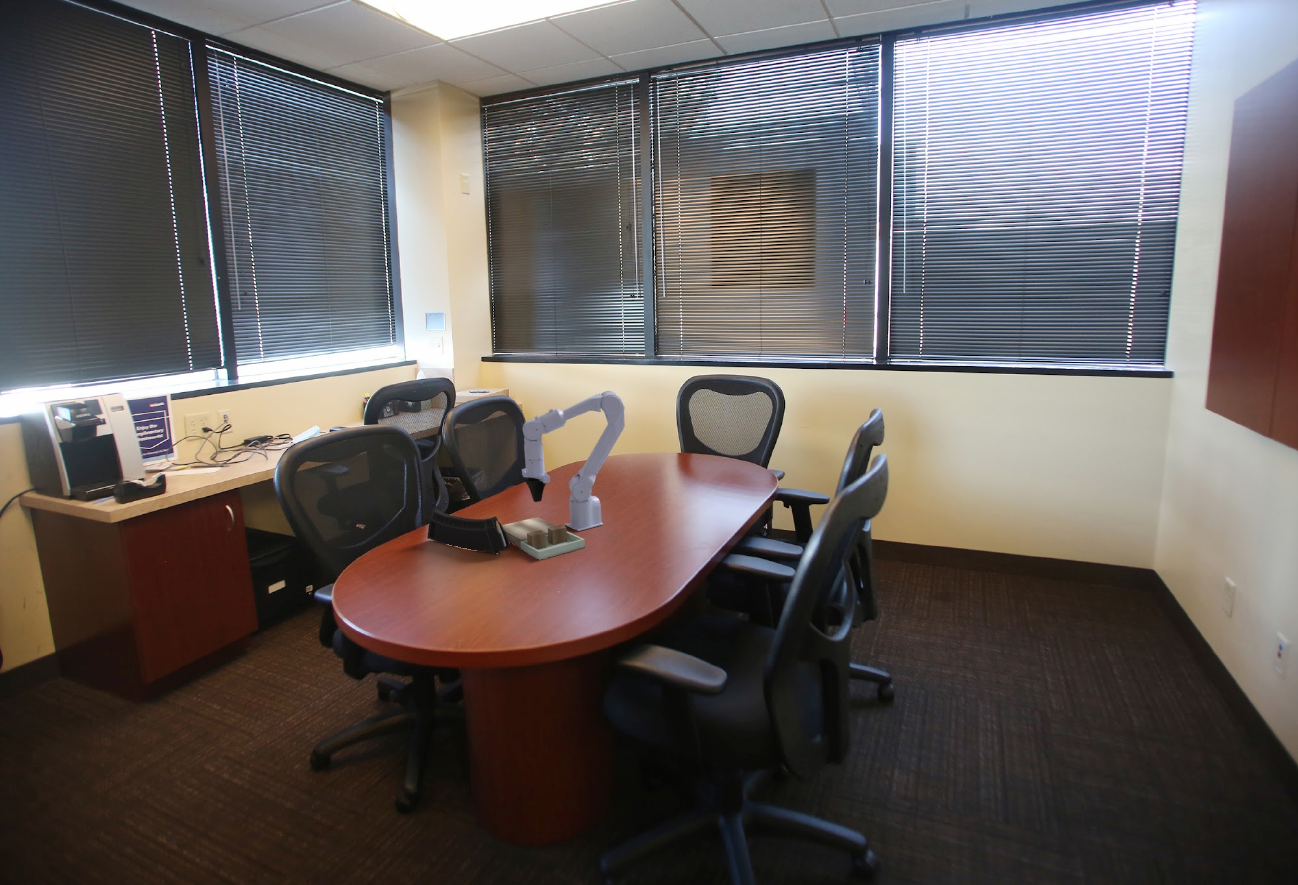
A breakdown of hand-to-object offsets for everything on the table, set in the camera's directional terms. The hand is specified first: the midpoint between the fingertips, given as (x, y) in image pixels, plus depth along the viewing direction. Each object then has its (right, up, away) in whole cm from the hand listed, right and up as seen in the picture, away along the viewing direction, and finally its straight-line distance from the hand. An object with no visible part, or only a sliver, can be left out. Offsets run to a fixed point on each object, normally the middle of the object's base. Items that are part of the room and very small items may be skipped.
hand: (537, 501), depth 221 cm
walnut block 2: (+7, -9, -11) cm, 15 cm away
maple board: (-2, -11, -4) cm, 12 cm away
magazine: (-19, -13, -12) cm, 26 cm away
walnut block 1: (+1, -10, -15) cm, 18 cm away
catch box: (+7, -13, -15) cm, 21 cm away
